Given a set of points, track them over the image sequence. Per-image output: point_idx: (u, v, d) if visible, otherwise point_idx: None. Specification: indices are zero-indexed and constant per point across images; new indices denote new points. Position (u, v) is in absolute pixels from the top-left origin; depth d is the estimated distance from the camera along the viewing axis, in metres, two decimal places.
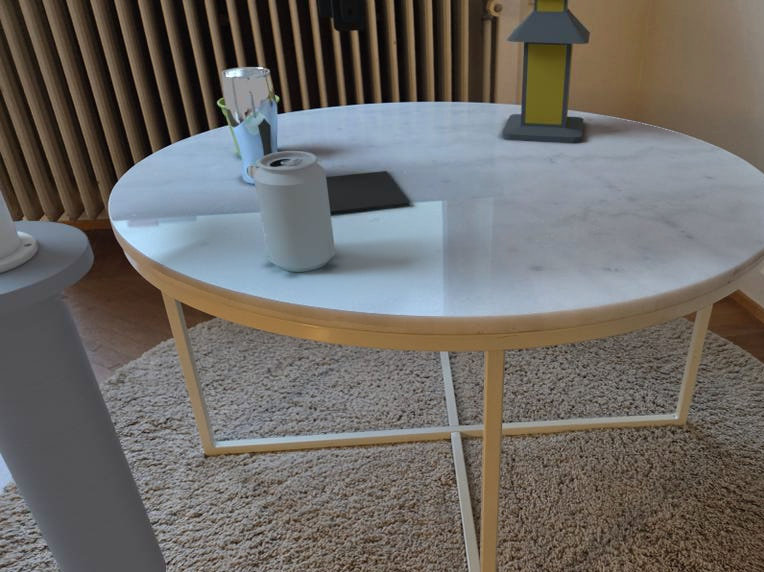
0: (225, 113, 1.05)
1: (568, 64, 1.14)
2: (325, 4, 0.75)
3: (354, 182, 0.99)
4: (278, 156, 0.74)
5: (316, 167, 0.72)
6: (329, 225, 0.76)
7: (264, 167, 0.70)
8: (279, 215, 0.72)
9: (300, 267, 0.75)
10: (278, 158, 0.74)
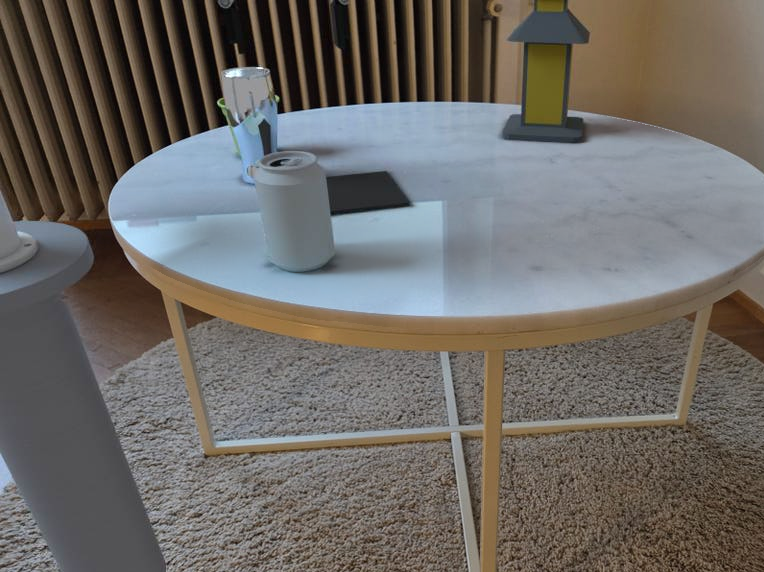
0: (225, 113, 1.05)
1: (568, 64, 1.14)
2: (243, 37, 0.65)
3: (354, 182, 0.99)
4: (278, 156, 0.74)
5: (316, 167, 0.72)
6: (329, 225, 0.76)
7: (264, 167, 0.70)
8: (279, 215, 0.72)
9: (300, 267, 0.75)
10: (278, 158, 0.74)
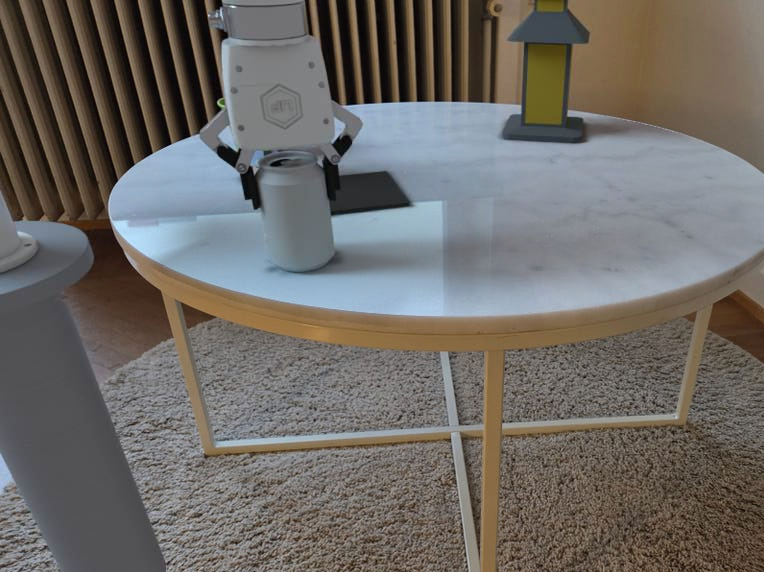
0: None
1: (568, 64, 1.14)
2: (257, 195, 0.72)
3: (354, 182, 0.99)
4: (278, 156, 0.74)
5: (316, 167, 0.72)
6: (329, 225, 0.76)
7: (264, 167, 0.70)
8: (279, 215, 0.72)
9: (300, 267, 0.75)
10: (278, 158, 0.74)
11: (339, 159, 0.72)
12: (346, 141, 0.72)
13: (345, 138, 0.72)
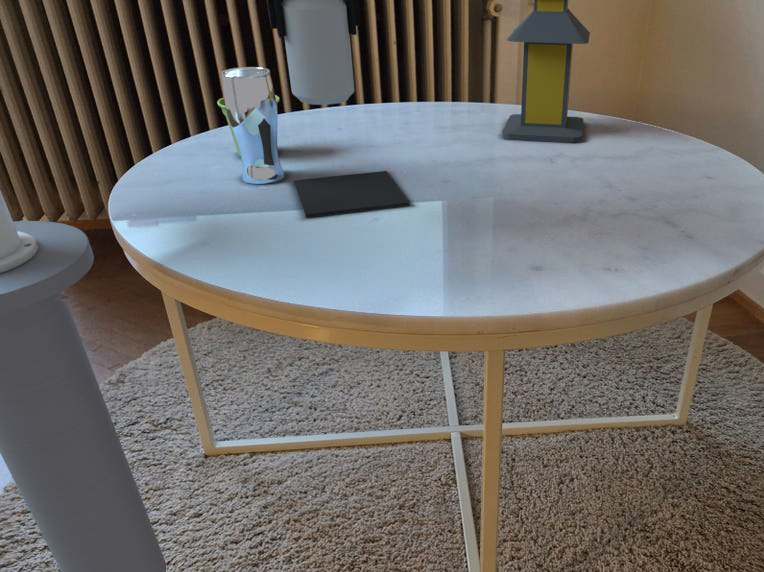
0: (225, 113, 1.05)
1: (568, 64, 1.14)
2: (283, 23, 0.77)
3: (354, 182, 0.99)
4: None
5: None
6: (349, 60, 0.80)
7: None
8: (303, 41, 0.76)
9: (322, 98, 0.80)
10: None
11: None
12: None
13: None
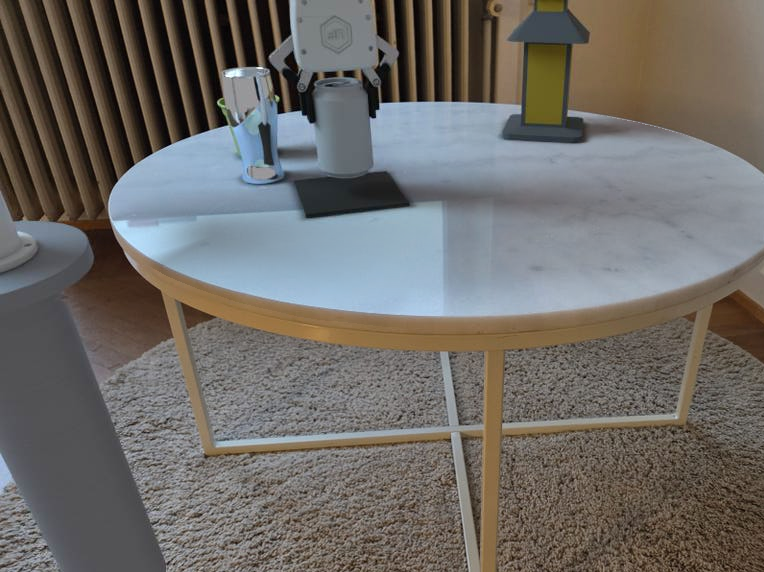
0: (225, 113, 1.05)
1: (568, 64, 1.14)
2: (313, 111, 0.88)
3: (354, 182, 0.99)
4: (329, 81, 0.90)
5: (361, 88, 0.88)
6: (370, 139, 0.92)
7: (320, 87, 0.86)
8: (331, 127, 0.88)
9: (346, 173, 0.91)
10: (329, 82, 0.90)
11: (379, 82, 0.89)
12: (385, 67, 0.88)
13: (384, 65, 0.88)
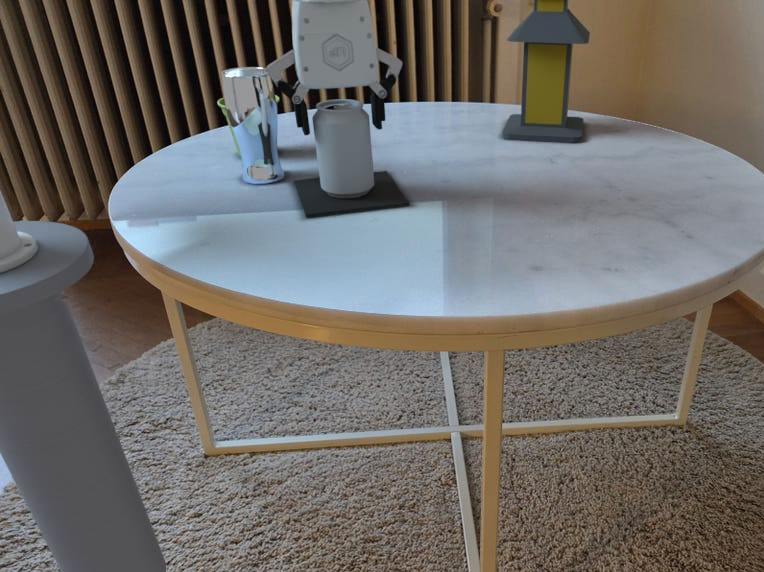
0: (225, 113, 1.05)
1: (568, 64, 1.14)
2: (308, 123, 0.89)
3: None
4: (331, 103, 0.92)
5: (362, 110, 0.90)
6: (371, 160, 0.93)
7: (322, 109, 0.88)
8: (333, 149, 0.89)
9: (348, 193, 0.93)
10: (331, 104, 0.91)
11: (385, 94, 0.90)
12: (391, 79, 0.89)
13: (390, 77, 0.89)
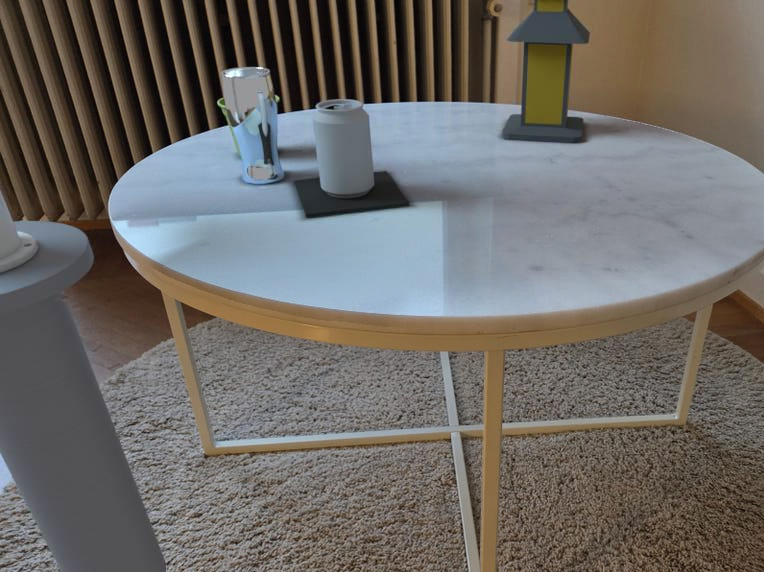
0: (225, 113, 1.05)
1: (568, 64, 1.14)
2: None
3: None
4: (331, 103, 0.92)
5: (362, 110, 0.90)
6: (371, 160, 0.93)
7: (322, 109, 0.88)
8: (333, 149, 0.89)
9: (348, 193, 0.93)
10: (331, 104, 0.91)
11: None
12: None
13: None
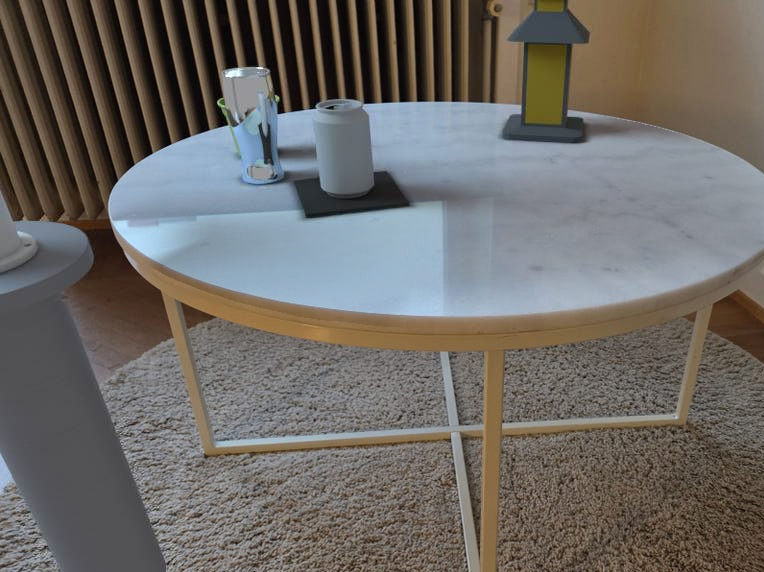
0: (225, 113, 1.05)
1: (568, 64, 1.14)
2: None
3: None
4: (331, 103, 0.92)
5: (362, 110, 0.90)
6: (371, 160, 0.93)
7: (322, 109, 0.88)
8: (333, 149, 0.89)
9: (348, 193, 0.93)
10: (331, 104, 0.91)
11: None
12: None
13: None
